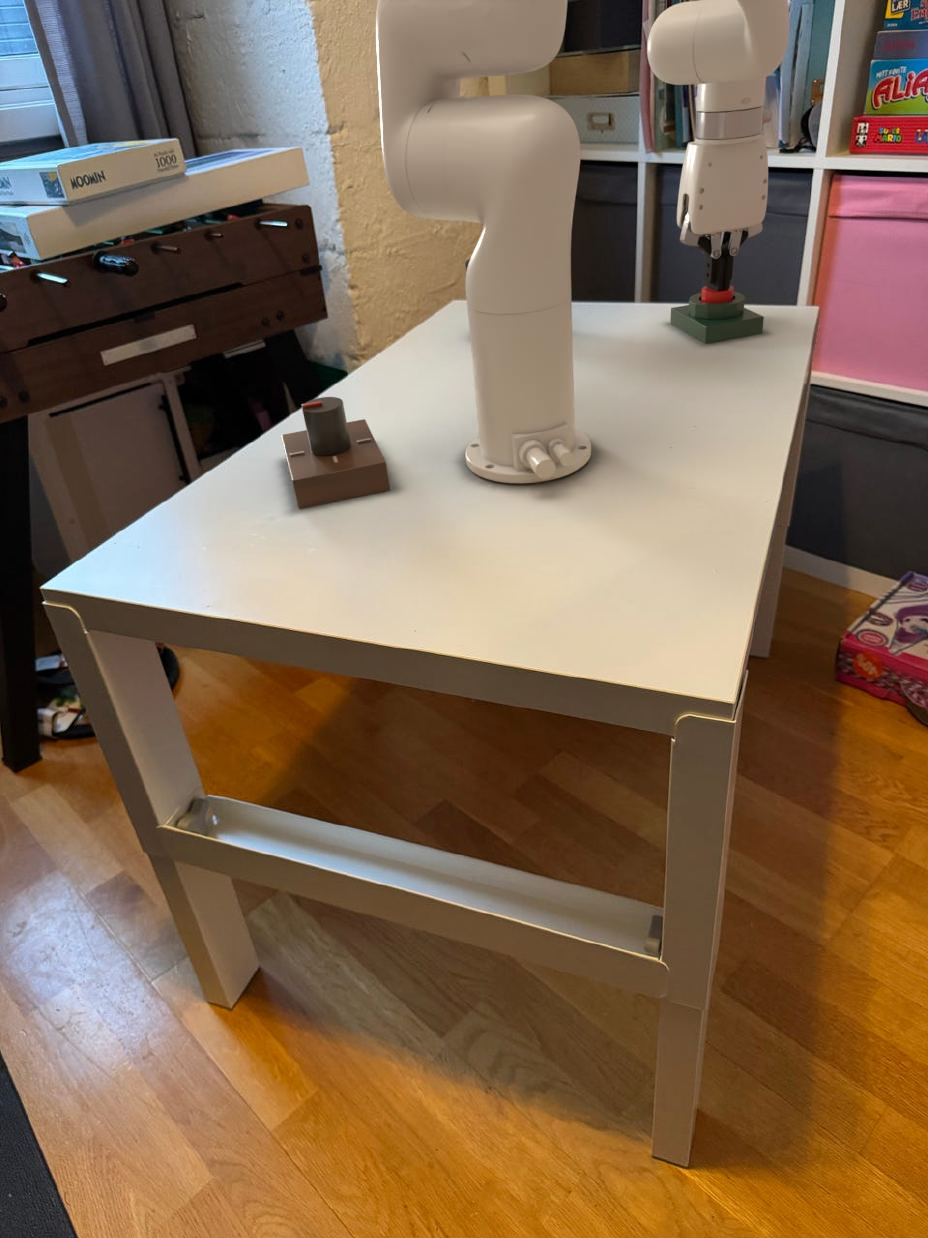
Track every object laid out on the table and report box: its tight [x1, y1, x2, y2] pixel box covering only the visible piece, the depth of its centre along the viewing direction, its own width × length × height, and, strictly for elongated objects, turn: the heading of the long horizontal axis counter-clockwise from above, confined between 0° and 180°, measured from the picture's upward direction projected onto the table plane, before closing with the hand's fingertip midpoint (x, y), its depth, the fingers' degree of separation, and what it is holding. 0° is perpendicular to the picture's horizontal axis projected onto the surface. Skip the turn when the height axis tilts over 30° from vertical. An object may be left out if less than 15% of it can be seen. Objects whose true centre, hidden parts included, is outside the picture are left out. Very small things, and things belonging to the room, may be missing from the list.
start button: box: [700, 284, 735, 303], centre depth 114 cm, size 4×4×2 cm
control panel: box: [280, 418, 391, 510], centre depth 89 cm, size 12×9×3 cm
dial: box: [301, 396, 351, 456], centre depth 87 cm, size 4×4×5 cm
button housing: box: [670, 291, 765, 345], centre depth 115 cm, size 10×8×4 cm
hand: (717, 287), depth 113 cm, fingers closed
